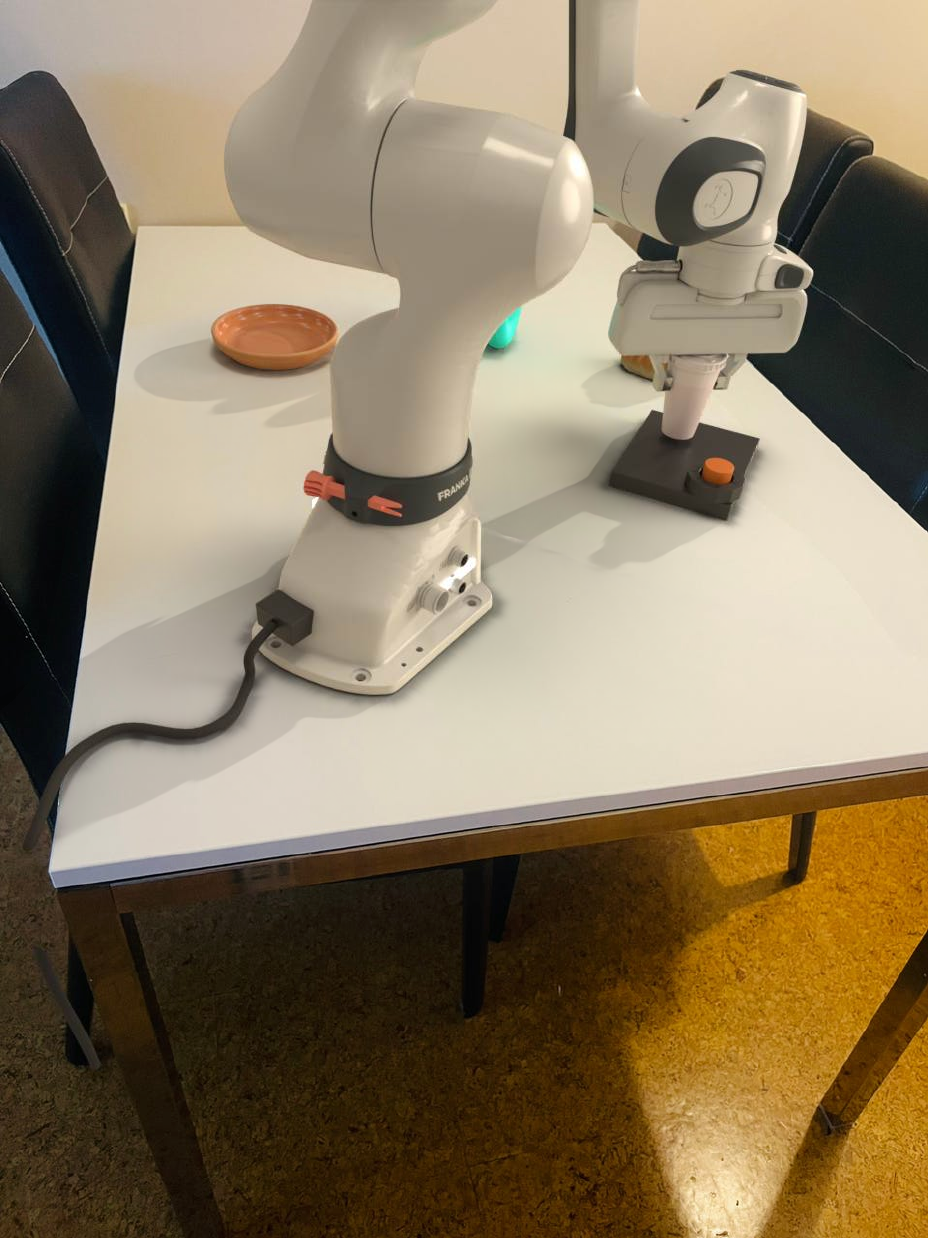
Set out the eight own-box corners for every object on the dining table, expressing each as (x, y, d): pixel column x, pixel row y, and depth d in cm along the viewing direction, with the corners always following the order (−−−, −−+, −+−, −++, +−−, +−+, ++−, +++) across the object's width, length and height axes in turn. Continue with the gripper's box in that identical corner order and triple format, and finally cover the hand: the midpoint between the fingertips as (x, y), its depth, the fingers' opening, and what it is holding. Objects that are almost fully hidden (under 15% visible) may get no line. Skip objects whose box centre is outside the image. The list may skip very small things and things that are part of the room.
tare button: (726, 488, 92) (730, 475, 91) (698, 480, 92) (702, 467, 91) (733, 475, 94) (736, 462, 93) (705, 467, 95) (708, 454, 94)
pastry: (615, 375, 117) (621, 348, 114) (623, 355, 122) (628, 328, 119) (687, 389, 115) (694, 361, 113) (691, 368, 120) (698, 340, 118)
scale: (729, 524, 92) (738, 496, 90) (607, 488, 96) (612, 460, 94) (759, 453, 104) (768, 426, 101) (648, 423, 107) (654, 397, 105)
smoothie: (706, 449, 99) (740, 328, 89) (648, 440, 99) (676, 319, 90) (705, 421, 103) (737, 303, 94) (650, 413, 104) (677, 295, 95)
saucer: (349, 330, 122) (348, 309, 120) (323, 383, 110) (322, 360, 108) (234, 318, 122) (232, 297, 120) (196, 370, 110) (193, 347, 108)
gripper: (633, 272, 84) (608, 404, 93) (829, 272, 88) (786, 399, 97) (613, 248, 89) (591, 377, 98) (800, 249, 92) (762, 373, 102)
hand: (689, 388), depth 98 cm, fingers closed on smoothie, 5 cm apart
